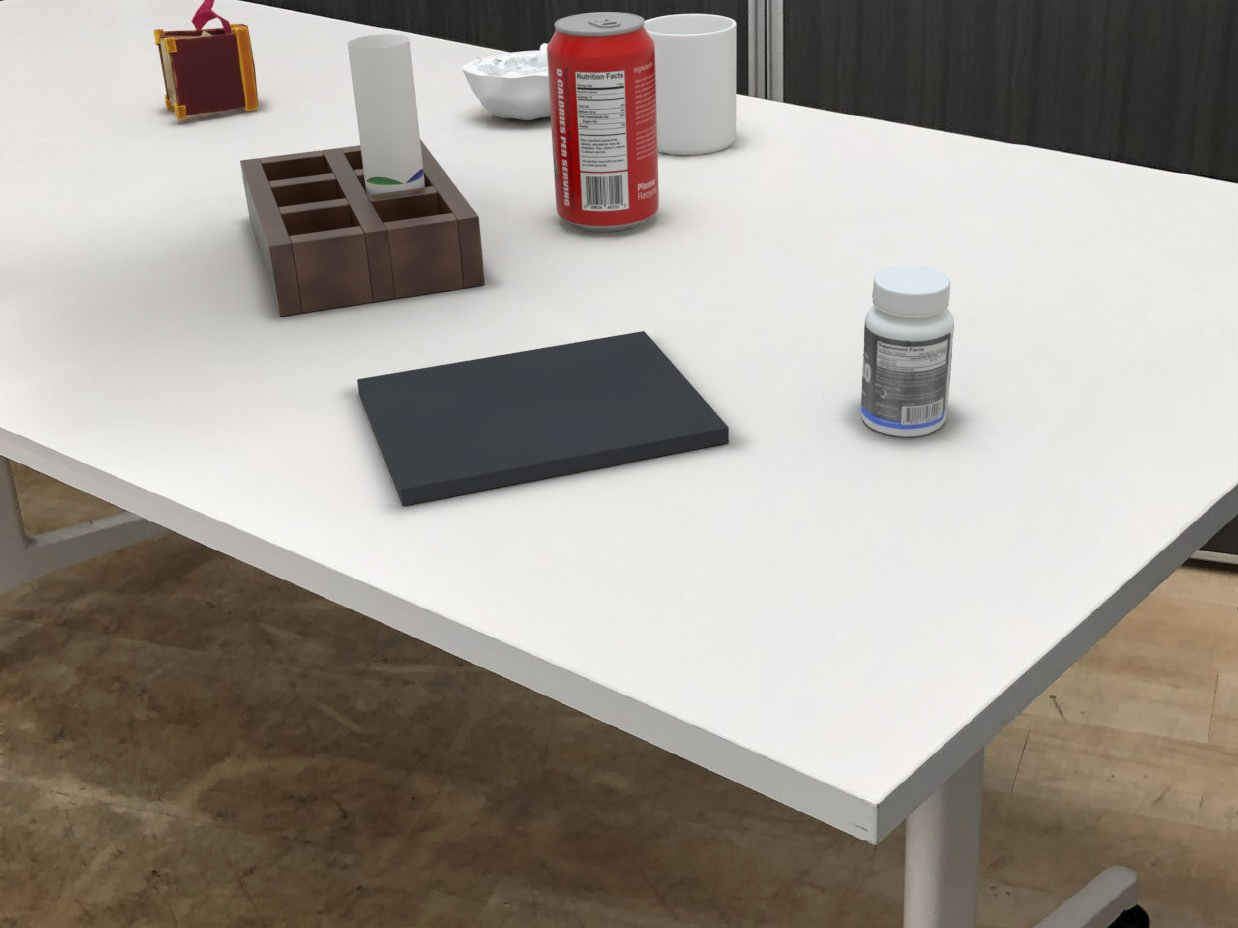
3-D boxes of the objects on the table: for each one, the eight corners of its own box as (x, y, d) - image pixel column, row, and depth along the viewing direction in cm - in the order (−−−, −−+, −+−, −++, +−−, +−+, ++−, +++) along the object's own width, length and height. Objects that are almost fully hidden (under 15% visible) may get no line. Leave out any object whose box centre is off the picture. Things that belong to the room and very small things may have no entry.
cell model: (487, 100, 143) (481, 30, 139) (603, 104, 140) (600, 33, 136) (450, 129, 134) (443, 55, 131) (572, 134, 131) (568, 59, 128)
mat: (402, 506, 74) (400, 489, 73) (358, 394, 85) (356, 378, 85) (729, 443, 78) (729, 427, 78) (644, 345, 90) (644, 330, 90)
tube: (365, 242, 108) (339, 40, 101) (419, 231, 110) (397, 31, 103) (384, 260, 105) (358, 51, 98) (439, 248, 106) (418, 43, 99)
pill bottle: (870, 395, 83) (877, 257, 79) (953, 406, 81) (964, 266, 77) (850, 432, 79) (857, 289, 75) (937, 444, 77) (948, 299, 73)
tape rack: (280, 317, 96) (268, 246, 94) (250, 222, 113) (239, 160, 111) (485, 285, 100) (479, 216, 97) (426, 198, 117) (419, 137, 114)
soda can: (589, 245, 106) (578, 38, 99) (539, 216, 112) (525, 19, 105) (678, 223, 109) (675, 21, 102) (625, 196, 115) (618, 4, 108)
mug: (633, 170, 121) (629, 46, 116) (589, 146, 128) (583, 28, 123) (754, 146, 126) (755, 26, 121) (705, 124, 132) (704, 9, 127)
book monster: (167, 125, 138) (166, 101, 149) (263, 117, 140) (255, 94, 151) (148, 10, 134) (149, -6, 144) (247, 3, 136) (241, -12, 146)
